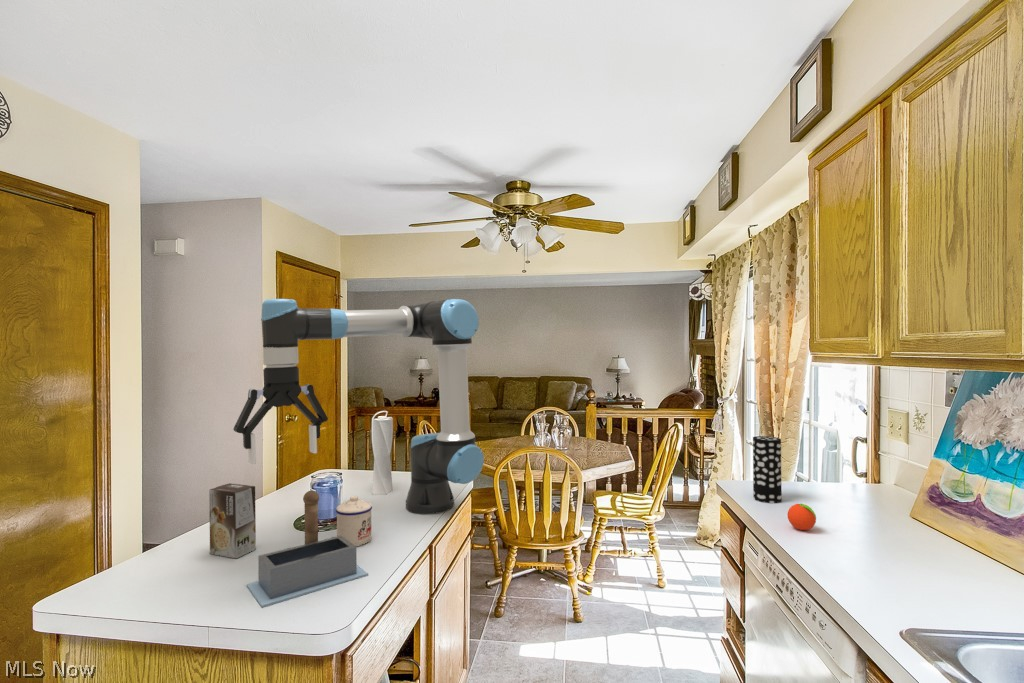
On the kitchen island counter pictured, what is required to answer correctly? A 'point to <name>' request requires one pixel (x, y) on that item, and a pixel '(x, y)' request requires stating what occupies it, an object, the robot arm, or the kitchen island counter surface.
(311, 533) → the walnut peg
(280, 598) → the slate mat
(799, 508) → the clementine
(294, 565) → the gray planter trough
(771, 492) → the spotted tube
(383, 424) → the skyscraper
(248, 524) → the coffee box
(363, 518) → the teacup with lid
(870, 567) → the kitchen island counter surface
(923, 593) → the kitchen island counter surface
